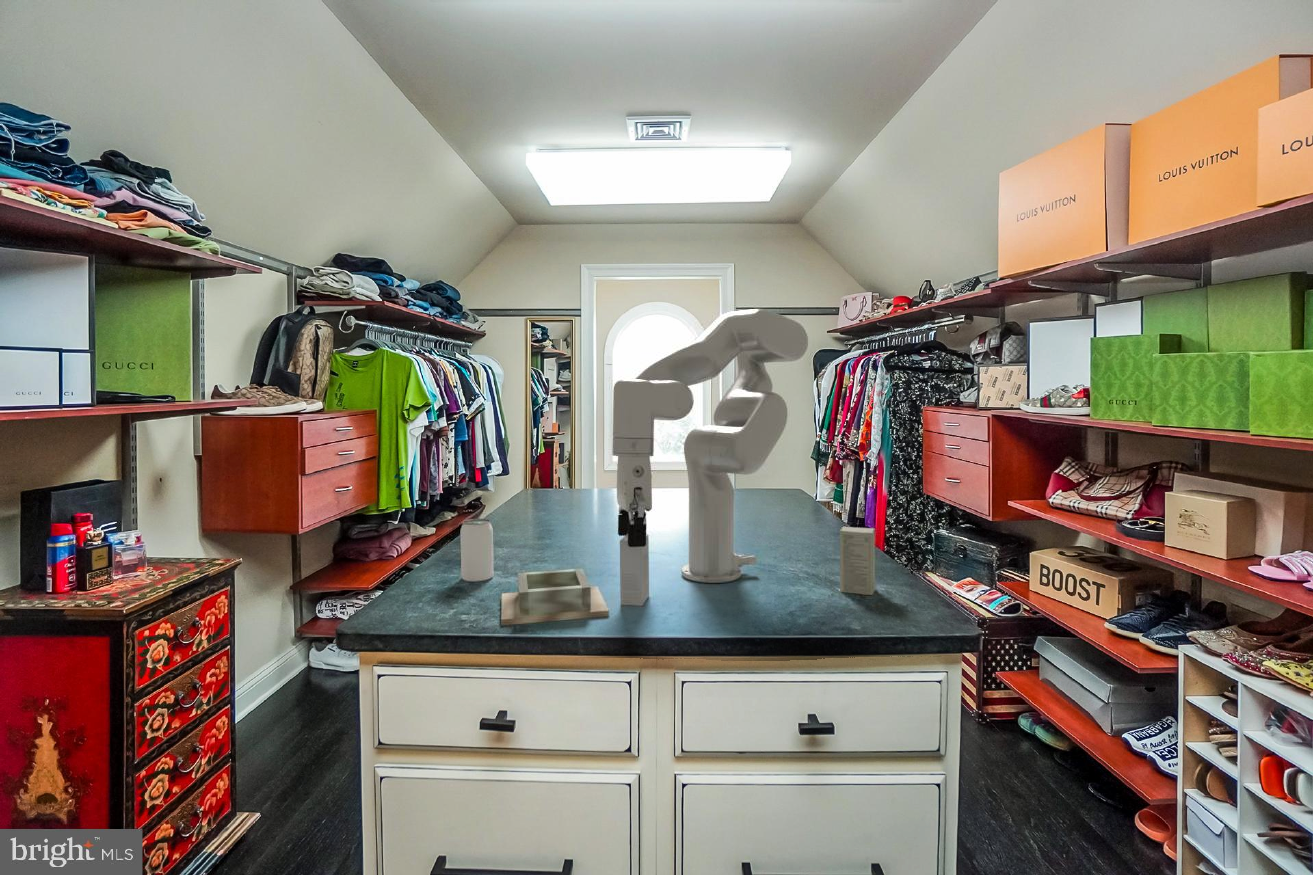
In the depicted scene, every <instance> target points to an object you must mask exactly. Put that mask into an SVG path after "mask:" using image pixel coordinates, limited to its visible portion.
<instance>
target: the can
mask: <svg viewBox="0 0 1313 875" xmlns="http://www.w3.org/2000/svg"><path fill="white" fill-rule="evenodd" d="M461 523H462V525H461V526H460V527H461V528H460V531H459V532H460V566H461V568H460V569H461V573H460V574H461V579H462V580H463V581H464V582H467V583H481V582H486V581H489V580H491V579H492V578H493V576H494V574H495V573H494V533H493V532H494V531H493V526H492V524H491V519H487V518H471V519H466V520H464V521H462V522H461Z"/></svg>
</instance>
